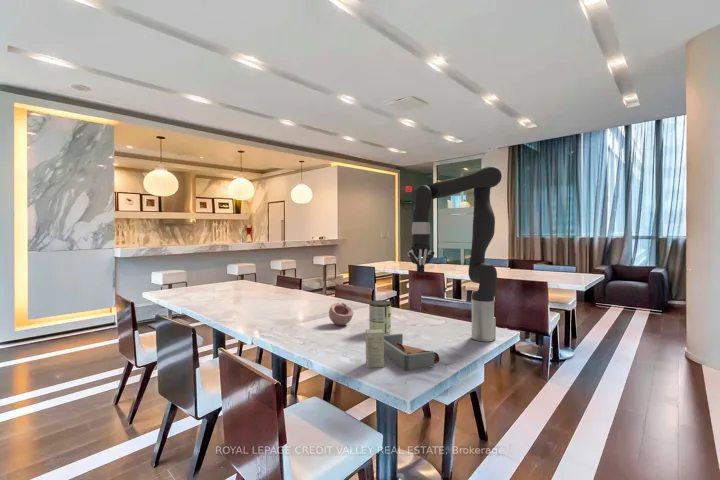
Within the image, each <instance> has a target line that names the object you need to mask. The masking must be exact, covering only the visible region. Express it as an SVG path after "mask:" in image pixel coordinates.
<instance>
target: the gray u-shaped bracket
mask: <svg viewBox="0 0 720 480" xmlns="http://www.w3.org/2000/svg"><path fill="white" fill-rule="evenodd" d="M403 335H404V334H403V333H394V334H393V333H392V334H388V335H384V357H387V358H388V359H389V360H390V361H392V362H393V363H394V364H396V365H397V366H399V367H400V368H401V369H402V370H404V371H406V372H407V371H414V370H419V369H426V368H427V369H428V368H431V367H435V364H434V352H435V351H433V350H428V351H429V352H422V353H414V354H406V353H404V352H403V351H401V350H400V349H398V348H397V347H395V346H396V345H397V343H399V344H402V345H404V344H403V341H404V340H403Z"/></svg>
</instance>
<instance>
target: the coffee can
mask: <svg viewBox="0 0 720 480" xmlns="http://www.w3.org/2000/svg"><path fill="white" fill-rule="evenodd" d="M368 304H369V307H368V309H369V319H368V320H369V330H372V329H382V330H383V332H384V335H391V333H392V302H391V301H388V300H381V299H377V300H371V301H369V302H368Z"/></svg>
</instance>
